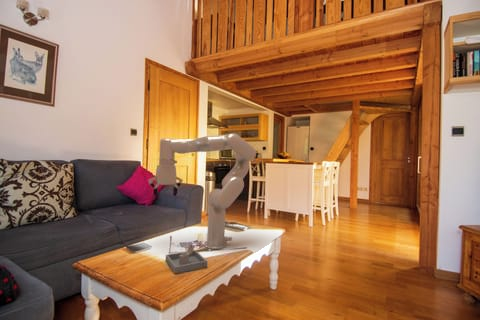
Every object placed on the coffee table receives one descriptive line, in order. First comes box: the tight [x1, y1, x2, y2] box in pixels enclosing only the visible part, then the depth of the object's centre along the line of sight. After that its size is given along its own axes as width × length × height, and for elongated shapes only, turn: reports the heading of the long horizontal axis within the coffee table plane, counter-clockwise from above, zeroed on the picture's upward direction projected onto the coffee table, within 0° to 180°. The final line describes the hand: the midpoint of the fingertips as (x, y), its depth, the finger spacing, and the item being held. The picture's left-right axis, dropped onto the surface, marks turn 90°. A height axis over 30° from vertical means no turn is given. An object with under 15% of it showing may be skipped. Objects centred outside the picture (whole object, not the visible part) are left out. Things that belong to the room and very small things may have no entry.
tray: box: [165, 249, 208, 275], centre depth 114 cm, size 15×15×3 cm
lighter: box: [179, 244, 196, 265], centre depth 114 cm, size 7×2×8 cm, turn 136°
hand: (165, 195), depth 129 cm, fingers open, 9 cm apart
